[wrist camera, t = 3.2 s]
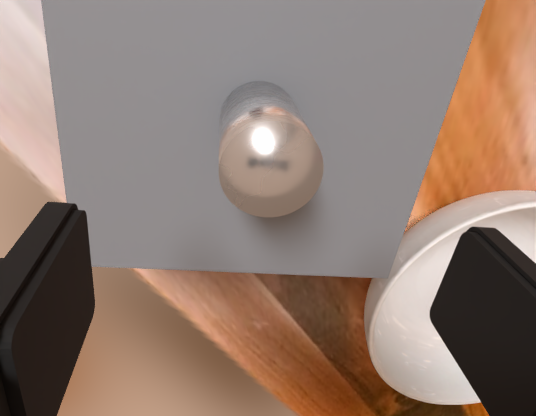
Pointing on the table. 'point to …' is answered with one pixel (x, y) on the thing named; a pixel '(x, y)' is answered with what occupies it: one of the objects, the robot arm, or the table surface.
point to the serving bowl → (425, 289)
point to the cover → (251, 127)
